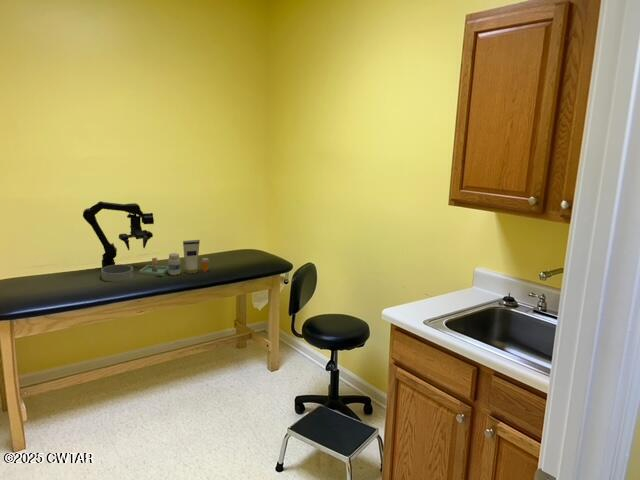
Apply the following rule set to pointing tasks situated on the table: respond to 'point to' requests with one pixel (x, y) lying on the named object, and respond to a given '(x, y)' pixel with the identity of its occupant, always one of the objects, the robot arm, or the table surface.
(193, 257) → the toiletry set
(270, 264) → the table surface
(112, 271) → the translucent round bowl
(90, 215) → the robot arm
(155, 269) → the dowel pin
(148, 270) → the tray
